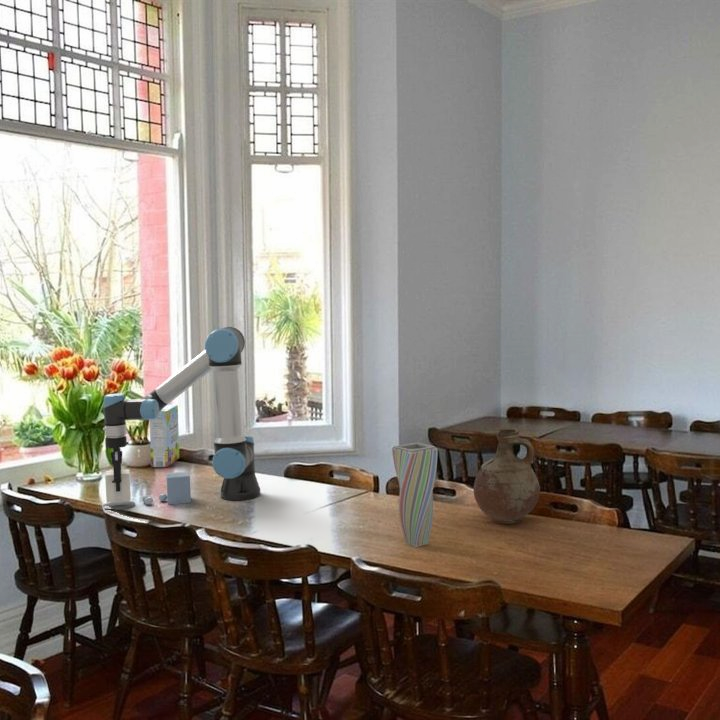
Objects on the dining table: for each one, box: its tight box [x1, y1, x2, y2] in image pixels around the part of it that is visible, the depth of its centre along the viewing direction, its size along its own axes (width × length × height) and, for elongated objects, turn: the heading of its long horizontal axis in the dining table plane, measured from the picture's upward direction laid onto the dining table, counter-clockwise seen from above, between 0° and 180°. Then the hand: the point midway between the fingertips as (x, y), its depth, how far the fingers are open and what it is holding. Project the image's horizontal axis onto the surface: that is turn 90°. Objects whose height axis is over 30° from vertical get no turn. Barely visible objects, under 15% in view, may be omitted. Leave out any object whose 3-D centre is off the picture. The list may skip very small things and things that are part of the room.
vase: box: [391, 442, 439, 548], centre depth 260 cm, size 14×14×30 cm
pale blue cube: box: [165, 471, 192, 505], centre depth 322 cm, size 8×8×10 cm
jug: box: [473, 428, 541, 525], centre depth 282 cm, size 22×22×30 cm
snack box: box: [149, 404, 180, 468], centre depth 393 cm, size 22×9×26 cm, turn 179°
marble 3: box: [158, 493, 167, 502], centre depth 322 cm, size 3×3×3 cm
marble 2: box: [144, 496, 154, 506], centre depth 318 cm, size 3×3×3 cm
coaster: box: [103, 501, 136, 511], centre depth 317 cm, size 11×11×1 cm
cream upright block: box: [104, 468, 132, 504], centre depth 317 cm, size 8×8×10 cm
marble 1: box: [141, 494, 151, 504], centre depth 321 cm, size 3×3×3 cm
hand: (118, 496), depth 317 cm, fingers closed on cream upright block, 8 cm apart
